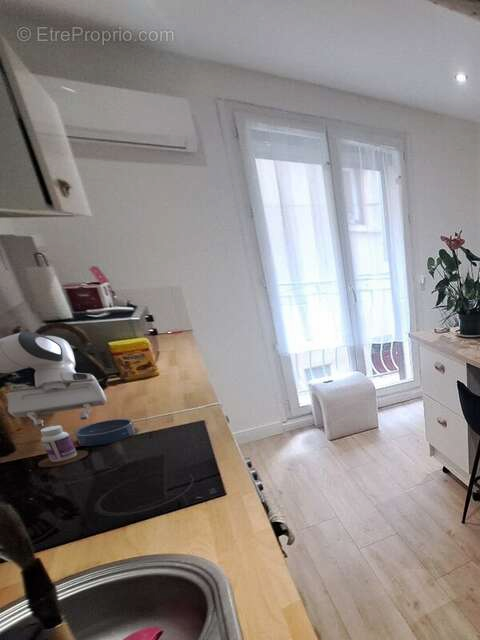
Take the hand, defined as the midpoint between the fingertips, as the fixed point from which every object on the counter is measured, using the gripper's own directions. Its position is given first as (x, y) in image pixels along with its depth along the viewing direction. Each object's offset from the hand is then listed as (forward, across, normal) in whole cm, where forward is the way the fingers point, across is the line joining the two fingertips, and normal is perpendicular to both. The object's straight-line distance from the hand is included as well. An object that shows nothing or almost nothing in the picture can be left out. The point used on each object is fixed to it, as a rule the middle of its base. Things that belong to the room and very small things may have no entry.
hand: (62, 422), depth 124 cm
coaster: (+14, 0, -2) cm, 14 cm away
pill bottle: (+13, 0, -2) cm, 13 cm away
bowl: (+5, +8, +7) cm, 12 cm away
